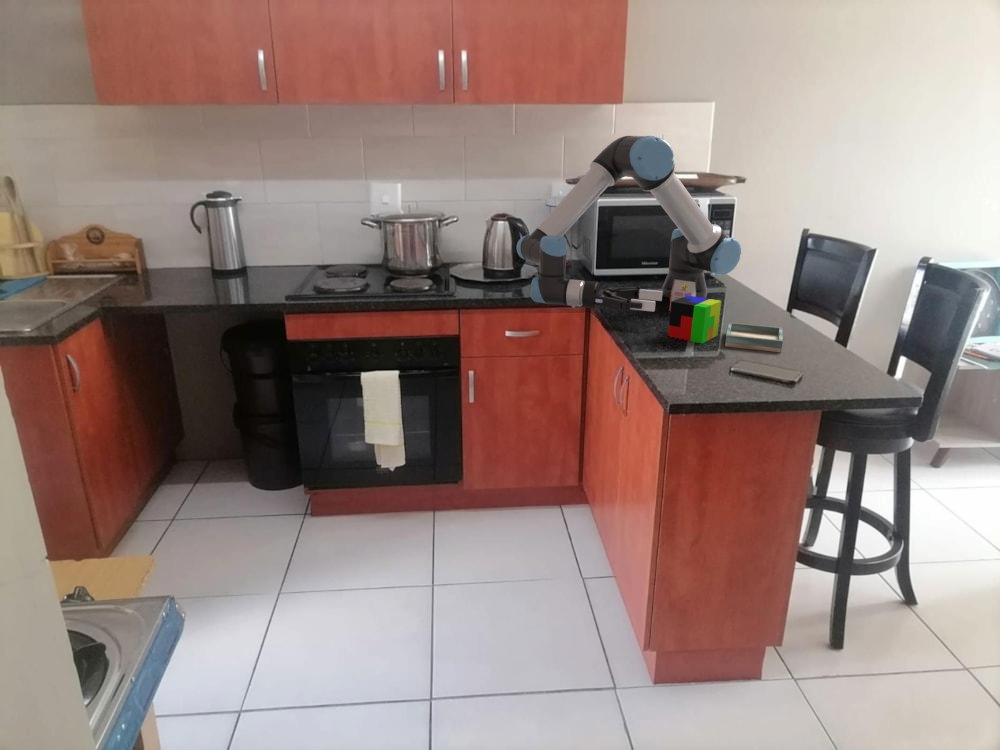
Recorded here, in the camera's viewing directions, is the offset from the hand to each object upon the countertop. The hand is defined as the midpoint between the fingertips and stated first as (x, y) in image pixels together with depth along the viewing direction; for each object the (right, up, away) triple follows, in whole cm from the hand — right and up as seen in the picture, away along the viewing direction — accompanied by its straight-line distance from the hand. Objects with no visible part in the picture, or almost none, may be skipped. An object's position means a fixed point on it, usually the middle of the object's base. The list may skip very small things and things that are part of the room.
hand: (658, 301), depth 196 cm
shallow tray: (+25, -12, -5) cm, 28 cm away
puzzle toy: (+10, -10, 0) cm, 14 cm away
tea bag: (+13, -1, +25) cm, 28 cm away
